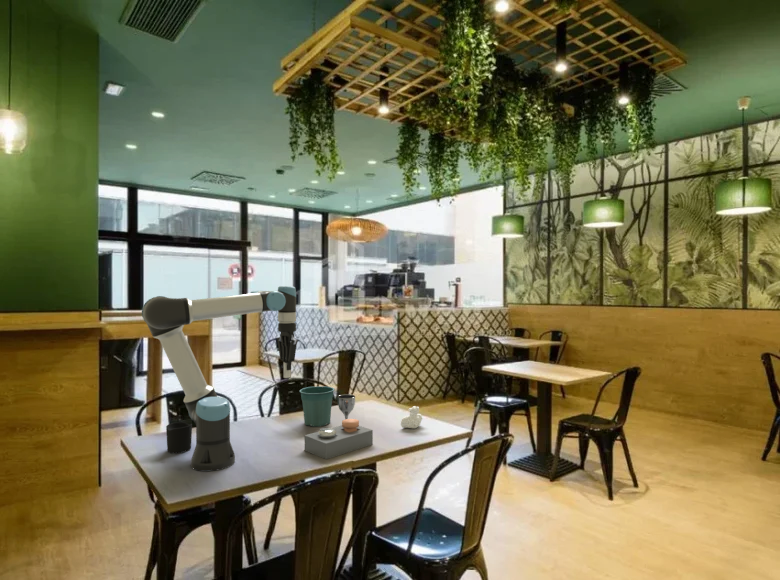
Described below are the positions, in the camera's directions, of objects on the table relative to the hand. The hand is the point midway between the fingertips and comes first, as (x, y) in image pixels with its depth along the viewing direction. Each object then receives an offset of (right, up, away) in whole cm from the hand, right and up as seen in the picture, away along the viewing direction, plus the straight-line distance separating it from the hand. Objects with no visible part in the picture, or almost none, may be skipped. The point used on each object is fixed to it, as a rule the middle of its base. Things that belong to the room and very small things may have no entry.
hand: (287, 377), depth 204 cm
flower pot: (+9, -26, +24) cm, 37 cm away
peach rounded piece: (+28, -24, -6) cm, 37 cm away
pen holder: (-40, -27, -13) cm, 50 cm away
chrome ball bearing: (+19, -26, -15) cm, 35 cm away
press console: (+23, -27, -10) cm, 37 cm away
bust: (+54, -27, +17) cm, 63 cm away
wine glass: (+24, -27, +14) cm, 39 cm away
